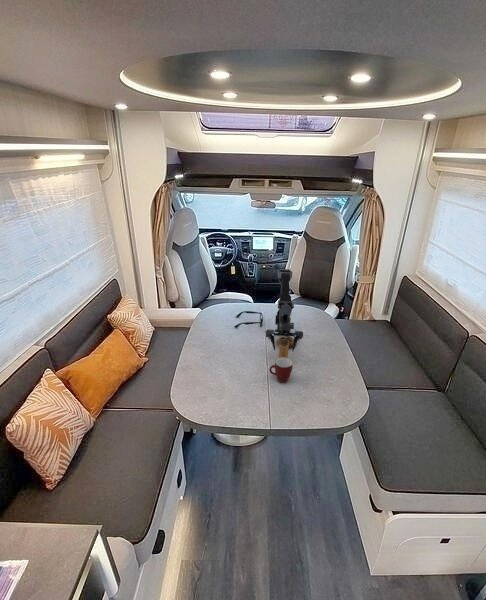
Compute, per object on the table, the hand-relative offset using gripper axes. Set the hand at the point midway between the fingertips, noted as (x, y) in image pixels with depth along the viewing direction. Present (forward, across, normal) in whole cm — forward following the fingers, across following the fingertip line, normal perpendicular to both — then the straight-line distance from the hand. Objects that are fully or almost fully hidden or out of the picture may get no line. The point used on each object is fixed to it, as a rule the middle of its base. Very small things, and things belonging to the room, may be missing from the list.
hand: (283, 350), depth 156 cm
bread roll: (-9, +2, +21) cm, 22 cm away
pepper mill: (+6, 0, +6) cm, 8 cm away
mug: (+15, -2, -3) cm, 15 cm away
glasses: (-25, -21, +37) cm, 50 cm away
